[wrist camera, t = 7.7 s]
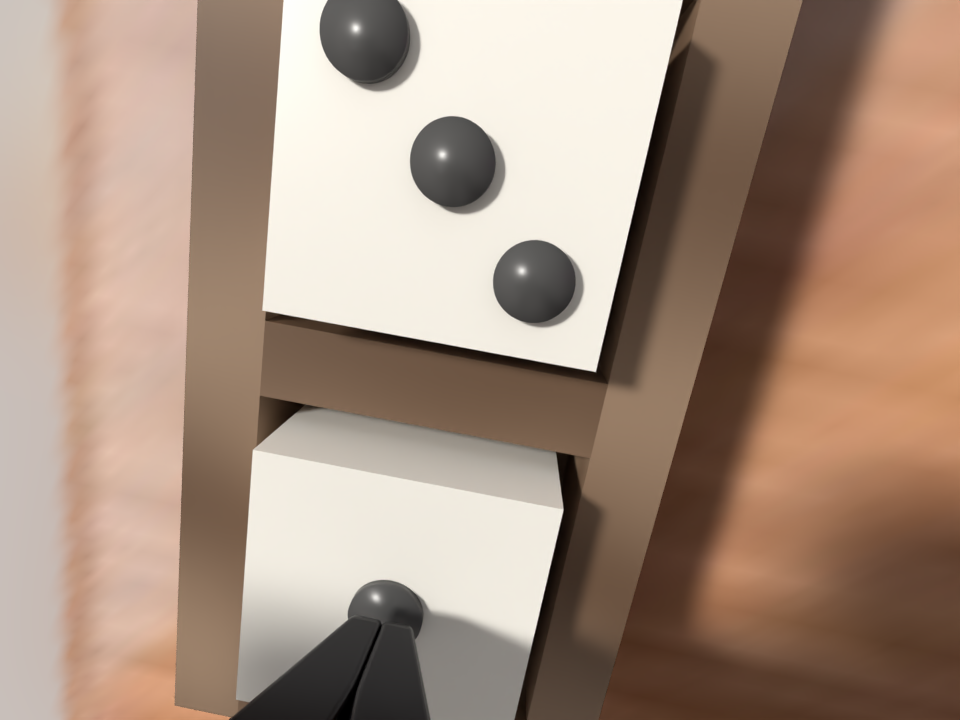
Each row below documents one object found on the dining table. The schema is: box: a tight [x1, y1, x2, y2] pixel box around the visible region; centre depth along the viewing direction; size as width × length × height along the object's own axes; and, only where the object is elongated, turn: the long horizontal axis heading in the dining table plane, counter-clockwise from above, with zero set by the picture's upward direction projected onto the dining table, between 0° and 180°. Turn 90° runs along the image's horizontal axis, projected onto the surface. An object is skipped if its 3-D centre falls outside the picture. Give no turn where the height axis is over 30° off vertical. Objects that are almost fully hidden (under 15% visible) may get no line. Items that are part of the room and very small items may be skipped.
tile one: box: [236, 404, 564, 720], centre depth 9 cm, size 4×4×2 cm
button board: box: [175, 0, 803, 720], centre depth 9 cm, size 20×8×3 cm, turn 170°
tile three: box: [262, 0, 683, 372], centre depth 8 cm, size 4×4×2 cm
